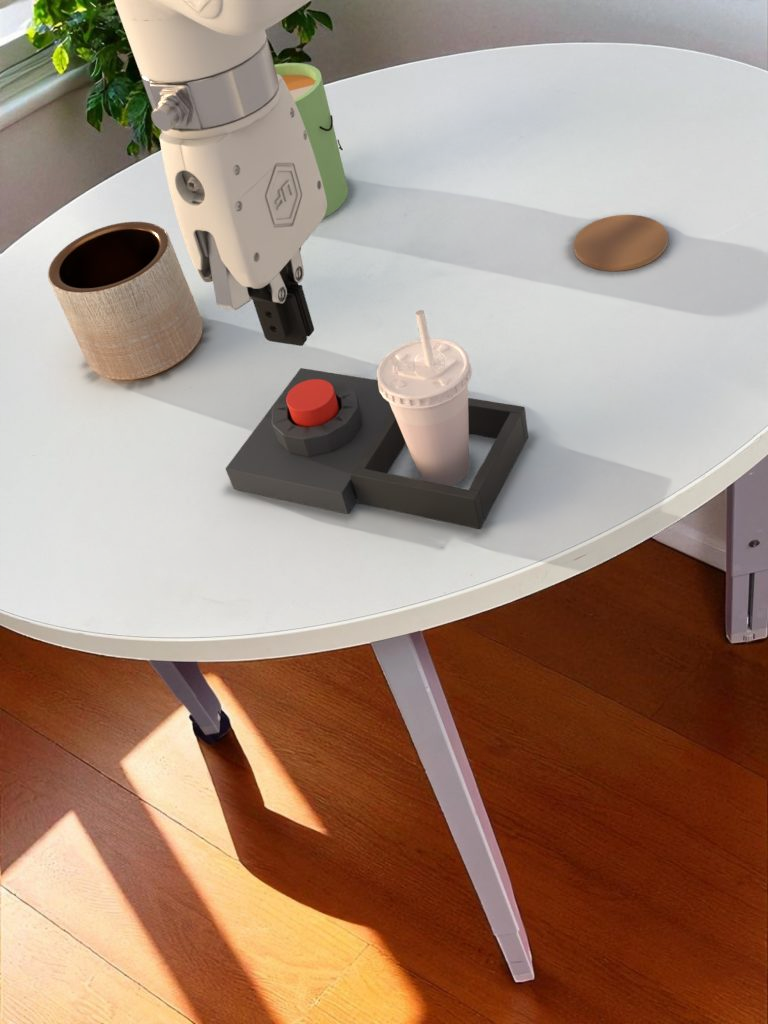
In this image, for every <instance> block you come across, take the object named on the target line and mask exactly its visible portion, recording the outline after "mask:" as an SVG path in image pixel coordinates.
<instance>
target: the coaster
mask: <svg viewBox="0 0 768 1024" xmlns="http://www.w3.org/2000/svg"><path fill="white" fill-rule="evenodd" d="M668 242H669V236H668V232H667V230H666V228H665V227H664V226H663V224H661V223H660V222H659V221H657V220H655V219H653V218H650V217H648V216H643V215H639V214H637V215H636V214H618V215H617V214H616V215H612V216H607V217H603V218H600V219H597V220H594V221H593V222H591V223H589V224H587V225H586V226H584V227H583V228H581V230H580V231H578V233H577V234H576V236H575V238H574V241H573V251H574V255H575V257H576V258H577V260H579V261H580V262H581V263H582V264H583V265H585V266H588V267H589V268H593V269H596V270H600V271H607V272H608V271H609V272H620V271H629V270H633V269H638V268H641V267H644V266H646V265H648V264H650V263H652V262H654V261H655V260H657V259H658V258H659V257H660V256H662V255H663V253H664V252H665V251H666V249H667V247H668Z"/></svg>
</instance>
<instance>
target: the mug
mask: <svg viewBox="0 0 768 1024" xmlns="http://www.w3.org/2000/svg"><path fill="white" fill-rule="evenodd" d="M274 66H275V70H276V73H277V74H279V75H280V76H282V78H283V80H284V82H285V83H286V85H287V87H288V89H289V91H290V93H291V95H292V97H293V99H294V102H295V104H296V106H297V108H298V111H299V113H300V116H301V118H302V121H303V123H304V126H305V129H306V132H307V135H308V138H309V141H310V144H311V147H312V150H313V153H314V156H315V159H316V162H317V166H318V169H319V172H320V176H321V179H322V183H323V187H324V191H325V195H326V200H327V209H326V213H325V215H324V217H323V219H324V218H326V217H328V216H330V215H332V214H333V213H334V212H337V210H339V208H340V207H342V205H344V204H345V202H346V201H347V198H348V197H349V186H348V183H347V182H348V181H347V178H346V174H345V170H344V165H343V161H342V157H341V153H340V151H343V148H342V147H343V146H341V143H340V139H337V135H336V131H335V127H334V119H333V115H331V110H330V106H329V101H328V97H327V93H326V89H325V84H324V82H323V76H322V73H321V71H320V69H318V68H317V67H315V66H314V65H311V64H307V63H302V62H301V63H300V62H285V63H277V64H274Z"/></svg>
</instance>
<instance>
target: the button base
mask: <svg viewBox="0 0 768 1024" xmlns="http://www.w3.org/2000/svg"><path fill="white" fill-rule="evenodd" d="M312 379H320V380H325V381H327V382H329V383H330V384H331V385H332V386H333V388H334V392H335V395H336V398H337V402H338V405H339V411H338V414H337V415H336V417H335V418H333V419H332V420H330V421H328V422H327V423H325V424H323V425H320V426H315V427H310V428H306V427H300V426H297V425H296V424H295V423H294V422H293V420H292V417H291V414H290V411H289V408H288V405H287V401H286V398H287V395H288V393H289V391H290V390H291V389H292V388H293V387H294V386H296V385H297V384H299V383H301V382H304V381H307V380H312ZM391 410H392V408H391V406H390V403H389V402H388V401H387V400H385V399H384V398H383V396H382V395H381V393H380V392H379V387H378V380H377V379H373V378H366V377H361V376H360V377H359V376H355V375H348V374H341V373H335V372H328V371H323V370H315V369H311V368H303V367H300V368H299V370H298V371H297V372H296V374H295V375H294V376H293V377H292V379H291V380H290V382H289V383H288V384H287V386H286V387H285V389H284V390H283V391H282V392H281V394H280V395H279V397H278V398H277V399H276V400H275V402H274V403H273V404H272V405H271V407H270V409H269V410H268V411H267V412H266V413H265V414H264V416H263V417H262V419H261V420H260V422H259V423H258V424H257V425H256V427H255V429H253V431H252V432H251V434H250V435H249V436H248V438H247V439H246V440H245V442H244V443H243V445H242V446H241V447H240V448H239V449H238V451H237V453H236V454H235V455H234V456H233V458H232V459H231V460H230V462H228V464H227V465H226V467H225V471H226V473H227V474H226V475H227V476H228V478H229V481H230V484H231V487H232V489H233V490H236V491H241V492H245V493H250V494H255V495H260V496H264V497H268V498H273V499H277V500H282V501H287V502H290V503H291V502H292V503H295V504H301V505H305V506H309V507H314V508H317V509H318V508H319V509H323V510H327V511H332V512H336V513H340V514H345V515H348V514H349V513H350V512H351V511H352V509H353V507H354V506H355V504H356V503H357V502H358V500H357V497H356V493H355V490H354V487H353V483H352V480H351V477H350V473H351V471H352V470H353V468H354V467H355V465H356V464H357V462H358V461H359V459H360V458H361V456H362V454H363V453H364V451H365V450H366V448H367V447H368V445H369V444H370V442H371V441H372V439H373V438H374V436H375V434H376V433H377V431H378V430H379V428H380V427H381V425H382V424H383V422H384V421H385V419H386V417H387V416H388V414H389V413H390V411H391Z"/></svg>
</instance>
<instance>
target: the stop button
mask: <svg viewBox="0 0 768 1024" xmlns="http://www.w3.org/2000/svg"><path fill="white" fill-rule="evenodd" d="M286 401H287V405H288V408H289V411H290V414H291V417H292V420H293V422H294V423H295V424H296V425H297V426H300V427H306V428H310V427H315V426H320V425H323V424H325V423H327V422H328V421H330V420H332V419H333V418H335V417H336V415H337V414H338V411H339V405H338V402H337V398H336V395H335V392H334V388H333V386H332V385H331V384H330V383H329V382H327V381H325V380H320V379H312V380H307V381H304V382H301V383H299V384H297V385H296V386H294V387H293V388H292V389H291V390H290V391H289V393H288V395H287V398H286Z"/></svg>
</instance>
